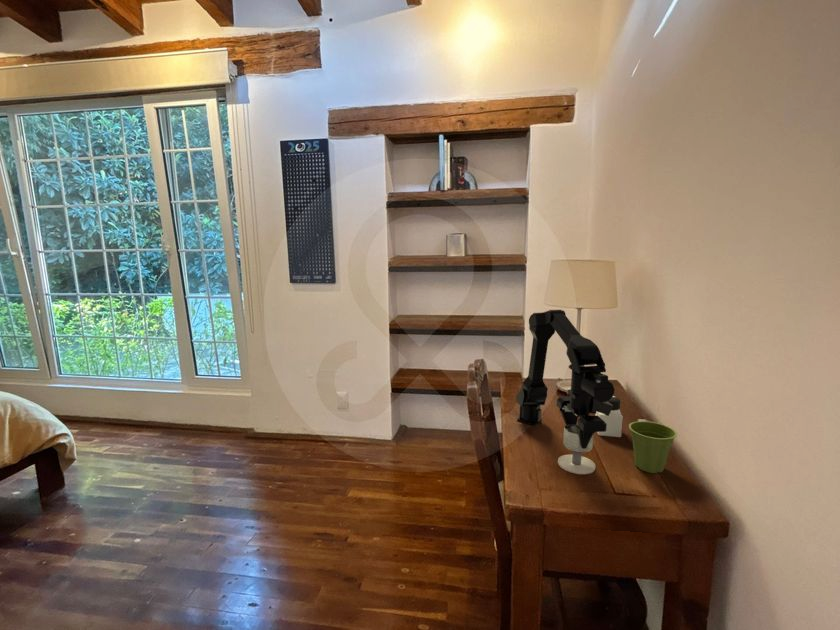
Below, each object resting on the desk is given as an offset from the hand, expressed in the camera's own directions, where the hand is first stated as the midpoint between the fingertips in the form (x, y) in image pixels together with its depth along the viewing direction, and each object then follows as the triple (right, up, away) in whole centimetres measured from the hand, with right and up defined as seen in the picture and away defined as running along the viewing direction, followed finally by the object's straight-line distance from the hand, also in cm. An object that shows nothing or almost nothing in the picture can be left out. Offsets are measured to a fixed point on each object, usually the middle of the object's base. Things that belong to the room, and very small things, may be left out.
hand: (577, 442), depth 125 cm
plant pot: (+20, -7, 0) cm, 21 cm away
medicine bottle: (+18, -3, +23) cm, 29 cm away
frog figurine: (+27, -4, +16) cm, 32 cm away
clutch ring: (0, -1, 0) cm, 1 cm away
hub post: (0, -7, +1) cm, 7 cm away
